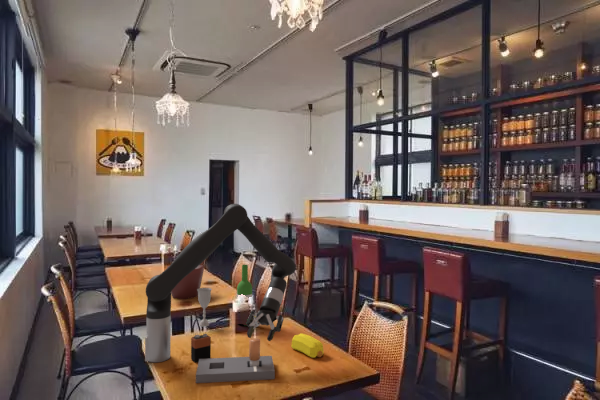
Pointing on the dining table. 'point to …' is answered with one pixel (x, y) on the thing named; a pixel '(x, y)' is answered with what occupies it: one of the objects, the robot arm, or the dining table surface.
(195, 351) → the battery
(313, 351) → the yellow faceted prism
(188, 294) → the bucket
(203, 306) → the chalice
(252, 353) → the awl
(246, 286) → the wine bottle
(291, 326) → the dining table surface
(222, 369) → the grey peg board
